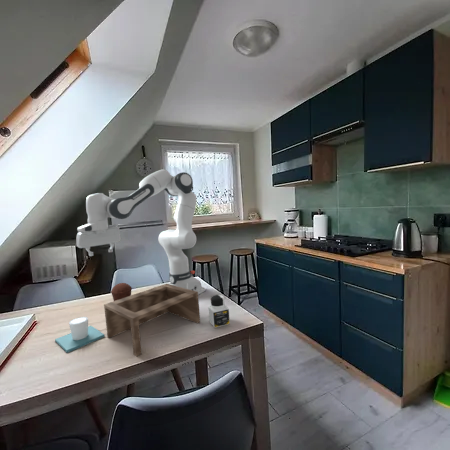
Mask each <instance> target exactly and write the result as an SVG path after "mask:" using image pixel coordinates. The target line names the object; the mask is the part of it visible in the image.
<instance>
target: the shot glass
mask: <svg viewBox="0 0 450 450" xmlns="http://www.w3.org/2000/svg"><path fill="white" fill-rule="evenodd" d="M68 324H69V328H70V329H69V330H70V333H71V334H72V339H73V340H80V339H83V338H85V337H87V336H88V326H89V317H87V316H80V317H76V318H74V319H71V320H70V321H68Z"/></svg>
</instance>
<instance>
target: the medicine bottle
mask: <svg viewBox="0 0 450 450" xmlns="http://www.w3.org/2000/svg"><path fill="white" fill-rule="evenodd" d="M225 299H226V298H225V296H224V295H222V294H216V295H213V296H211V298H210V305H208V307H207V308H208V319H209V321H208V322H209V323H210V324H211V325H212V327H213V328H214V329H215V328H220V327H223V326H227V325H230V324H231V323H230V311H229V310H230V309H229V307H227V305H226V300H225Z"/></svg>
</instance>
